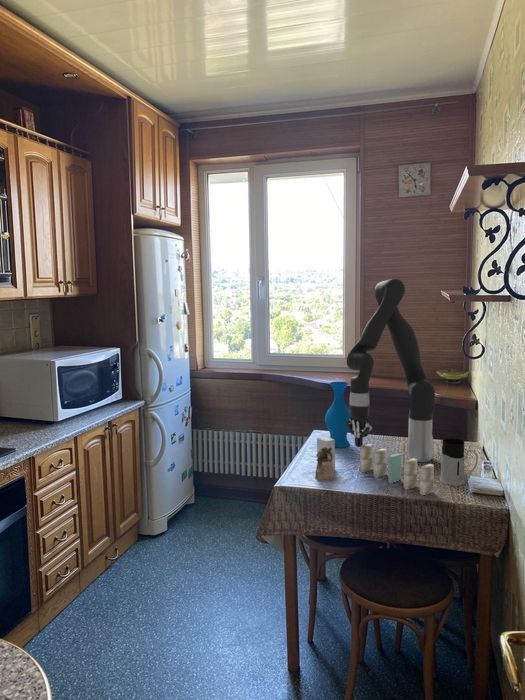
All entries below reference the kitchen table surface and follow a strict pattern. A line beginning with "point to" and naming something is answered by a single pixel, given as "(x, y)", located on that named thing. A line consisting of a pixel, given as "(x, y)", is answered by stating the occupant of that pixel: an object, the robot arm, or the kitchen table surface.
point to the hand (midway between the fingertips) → (358, 446)
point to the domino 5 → (426, 479)
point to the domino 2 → (380, 462)
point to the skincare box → (327, 446)
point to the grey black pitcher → (454, 462)
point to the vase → (338, 416)
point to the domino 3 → (394, 468)
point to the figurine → (324, 465)
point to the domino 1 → (366, 457)
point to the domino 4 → (410, 473)
